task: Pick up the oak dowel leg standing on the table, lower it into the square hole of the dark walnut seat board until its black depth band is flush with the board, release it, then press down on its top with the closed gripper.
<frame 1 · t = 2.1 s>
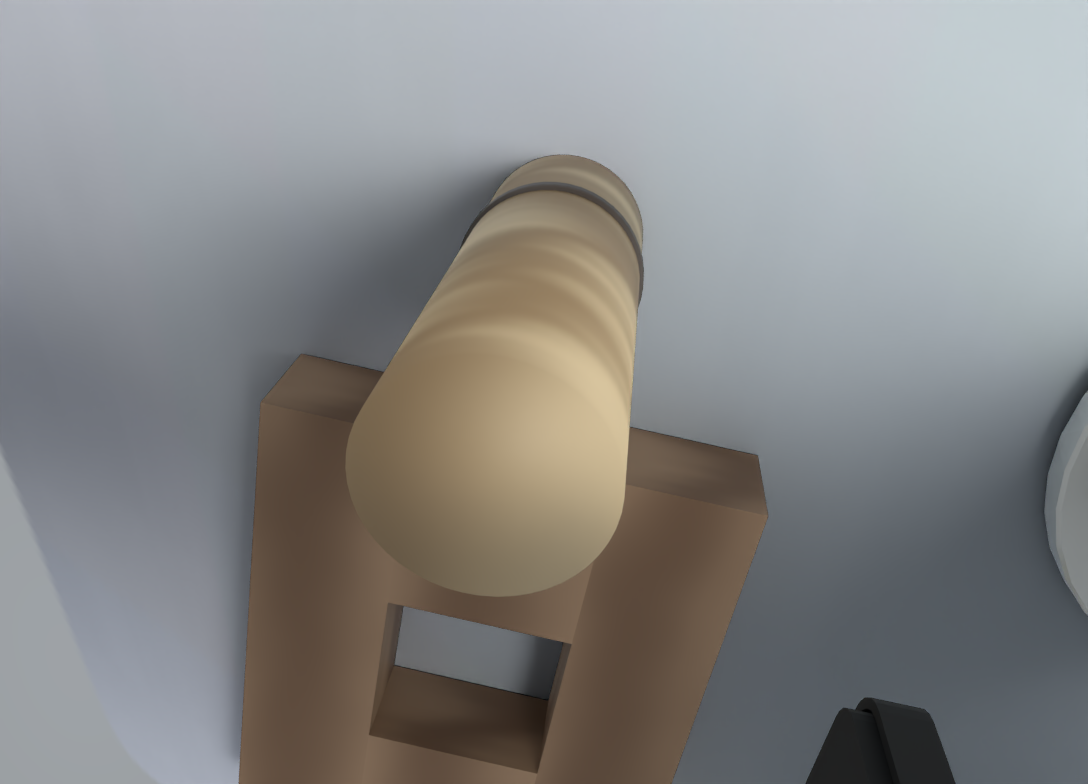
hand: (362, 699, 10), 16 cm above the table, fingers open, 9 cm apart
peg: (563, 234, 24), on the table
board: (483, 623, 30), on the table
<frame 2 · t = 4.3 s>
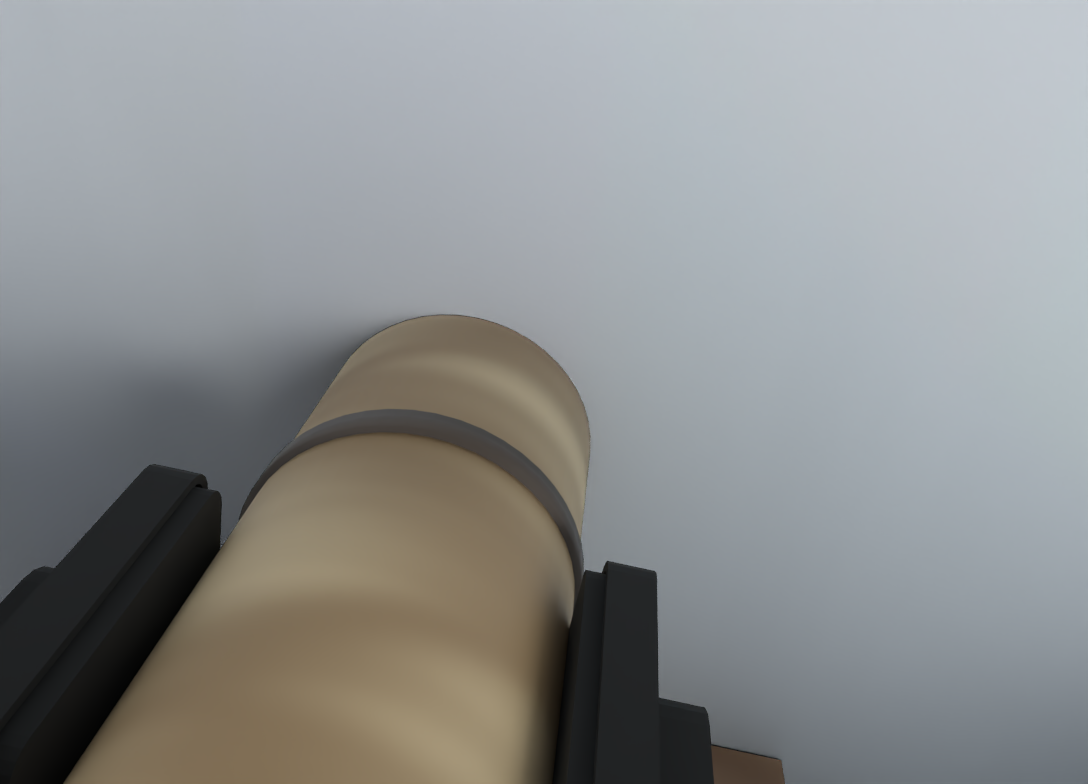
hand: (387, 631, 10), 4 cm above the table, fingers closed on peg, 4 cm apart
peg: (457, 438, 14), on the table, touching gripper
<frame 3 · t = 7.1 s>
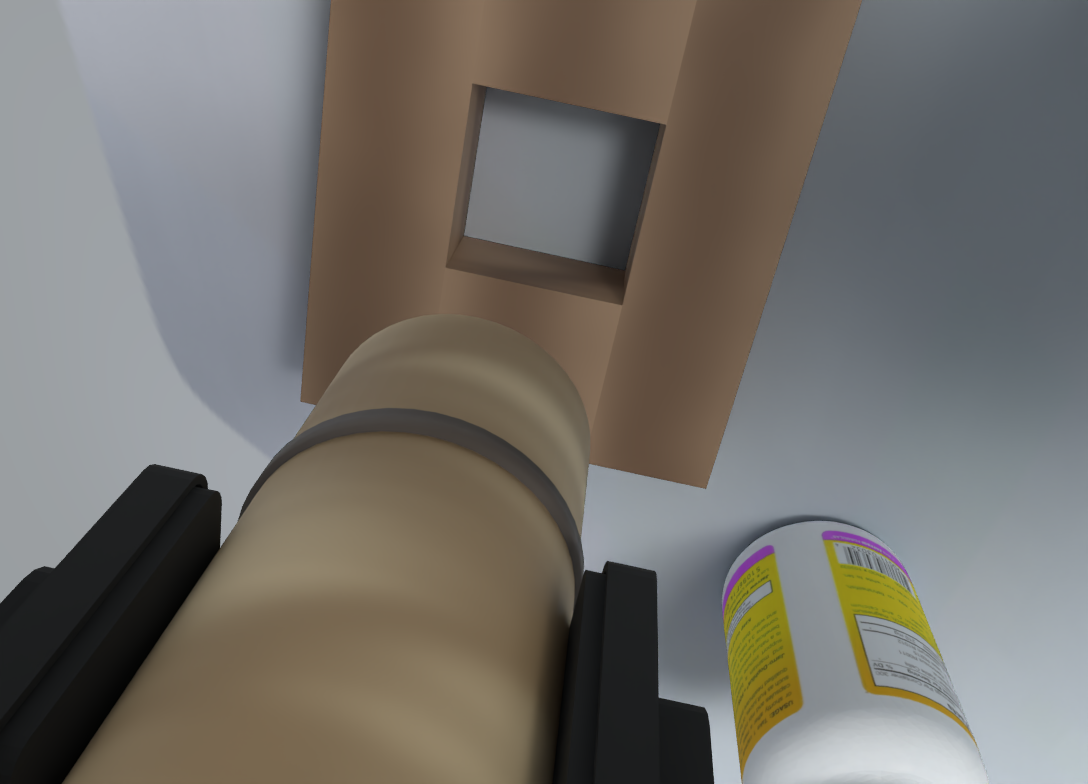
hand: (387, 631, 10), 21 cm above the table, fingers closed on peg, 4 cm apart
peg: (457, 437, 14), point 16 cm above the table, touching gripper
board: (560, 172, 29), on the table
supplement bottle: (812, 584, 35), on the table
when the fingers open (5 cm above the table, at t = 10.0 s): peg stays where it is, resting in board.
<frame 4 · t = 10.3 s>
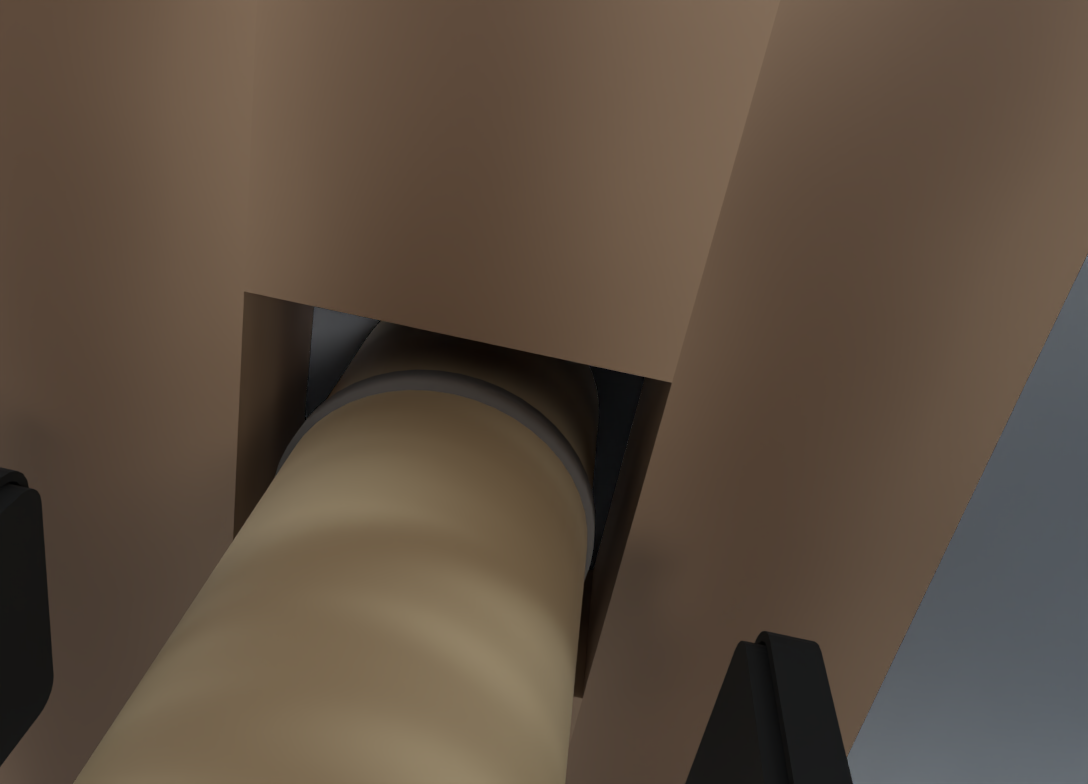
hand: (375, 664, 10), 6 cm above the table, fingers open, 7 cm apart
peg: (473, 407, 15), resting in board
board: (467, 408, 15), on the table
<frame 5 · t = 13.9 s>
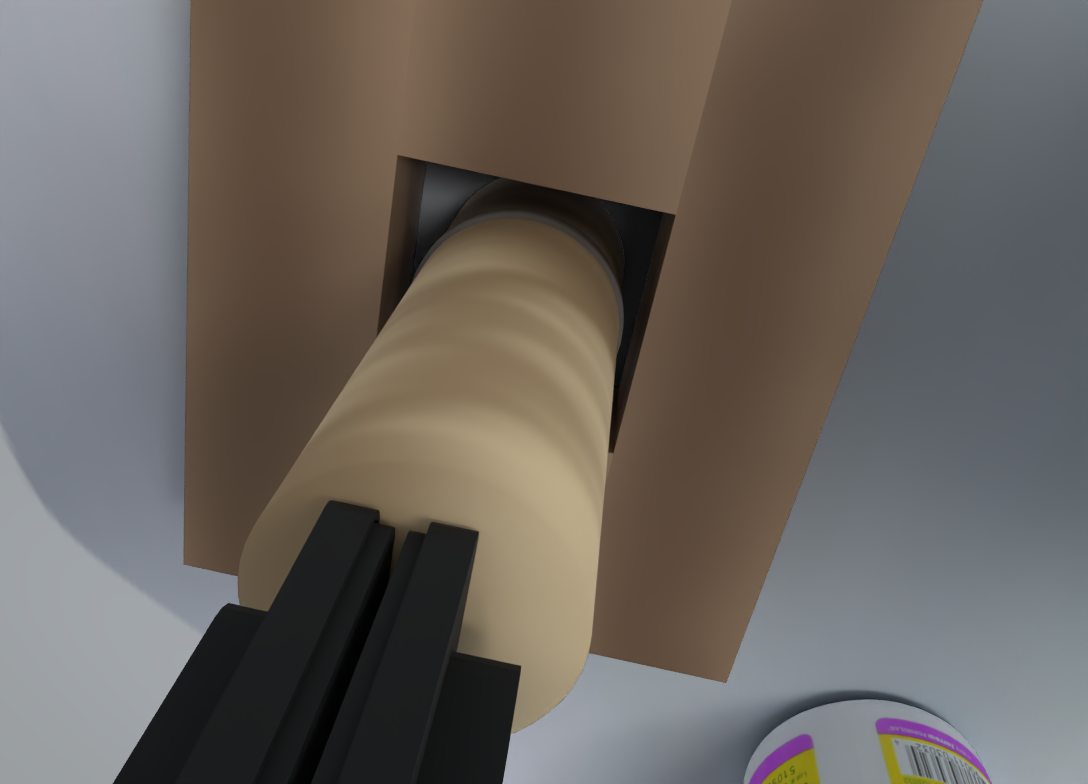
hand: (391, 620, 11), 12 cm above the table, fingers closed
peg: (534, 261, 21), resting in board, touching gripper
board: (530, 263, 21), on the table
supplement bottle: (858, 768, 27), on the table
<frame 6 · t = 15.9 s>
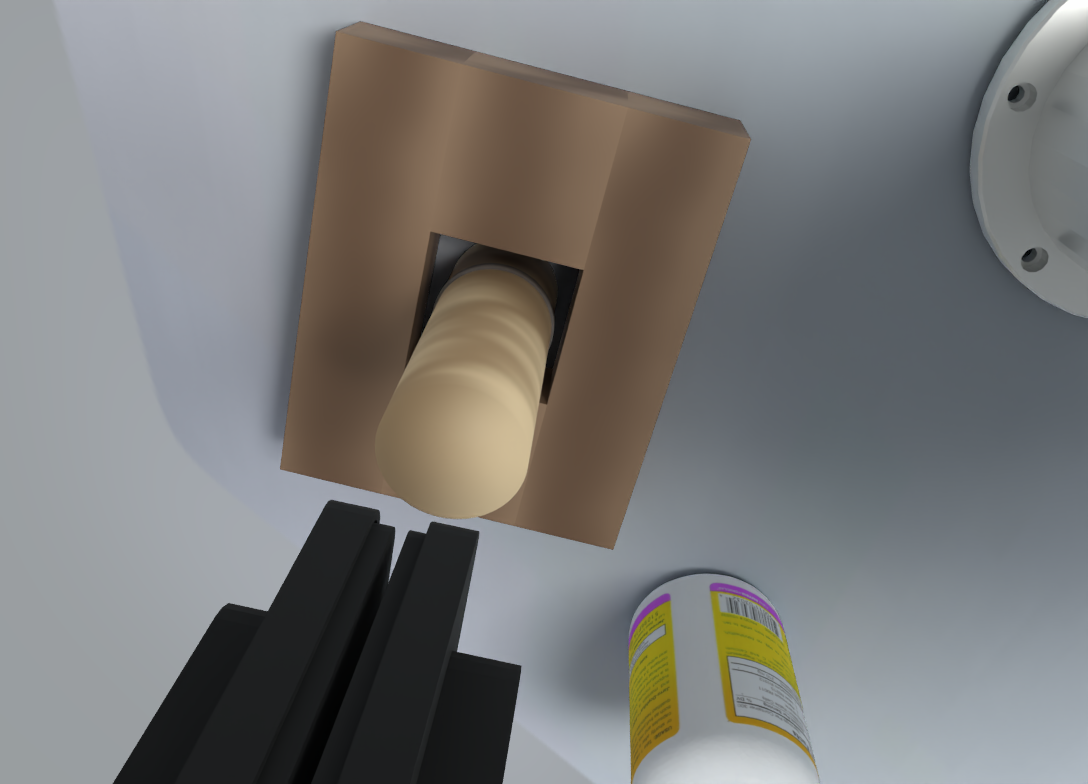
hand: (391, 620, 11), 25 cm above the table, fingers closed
peg: (503, 290, 35), resting in board
board: (501, 290, 35), on the table
supplement bottle: (704, 624, 42), on the table
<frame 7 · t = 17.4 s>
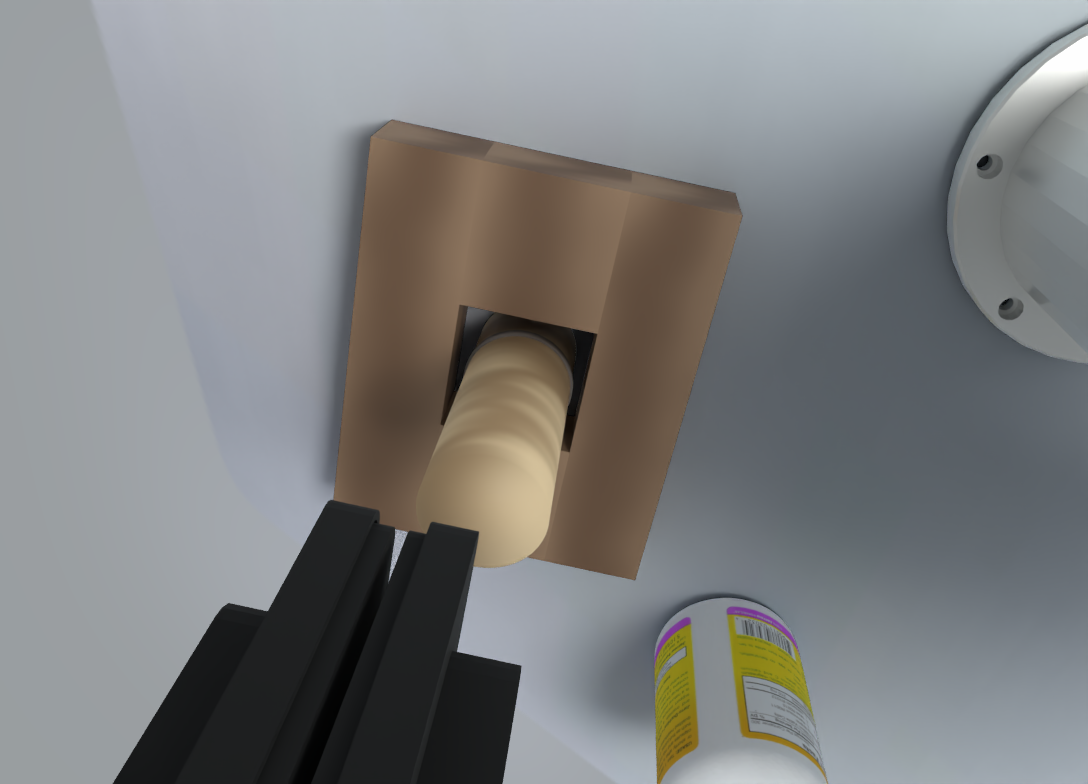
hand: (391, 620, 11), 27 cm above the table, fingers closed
peg: (527, 348, 39), resting in board
board: (525, 348, 39), on the table
supplement bottle: (725, 644, 45), on the table
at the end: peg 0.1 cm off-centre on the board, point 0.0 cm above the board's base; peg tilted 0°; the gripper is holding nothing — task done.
